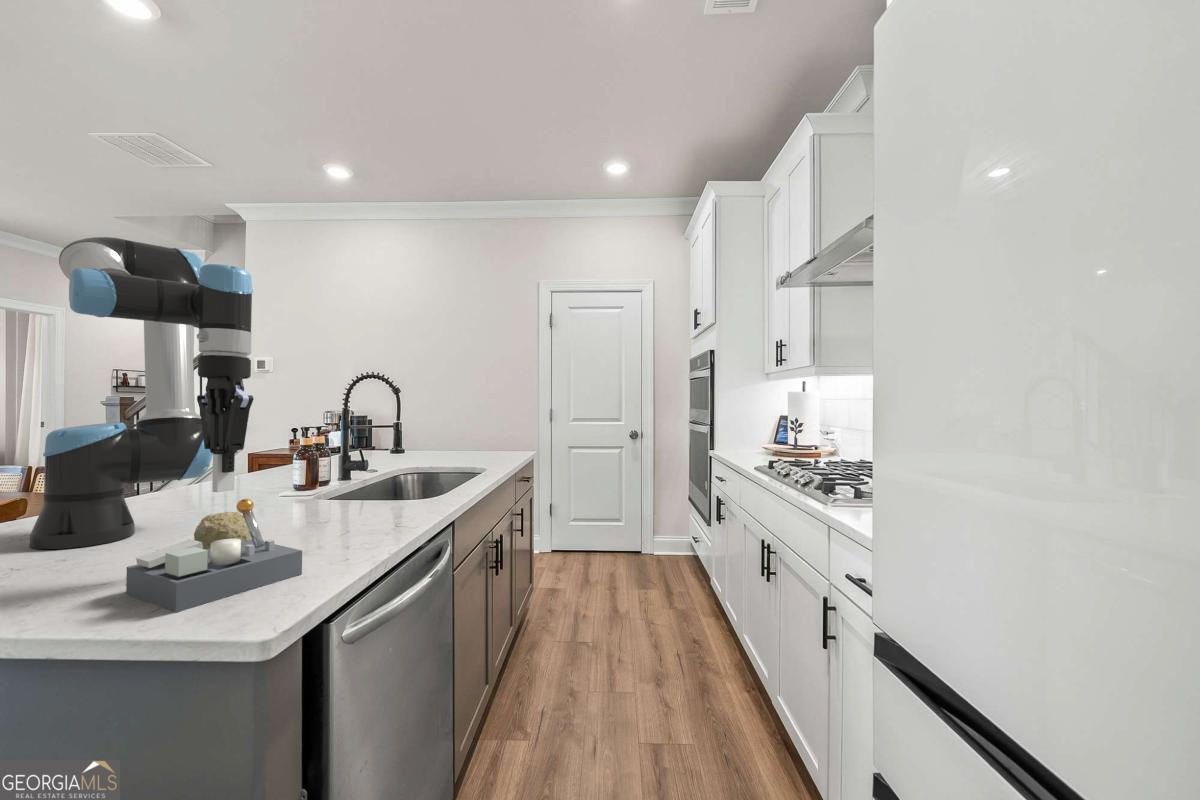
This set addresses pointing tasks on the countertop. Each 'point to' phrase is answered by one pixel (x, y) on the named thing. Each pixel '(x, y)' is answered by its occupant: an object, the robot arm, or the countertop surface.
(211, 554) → the button round
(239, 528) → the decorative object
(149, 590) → the panel
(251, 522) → the lever
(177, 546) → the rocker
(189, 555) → the button square
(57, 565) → the countertop surface
